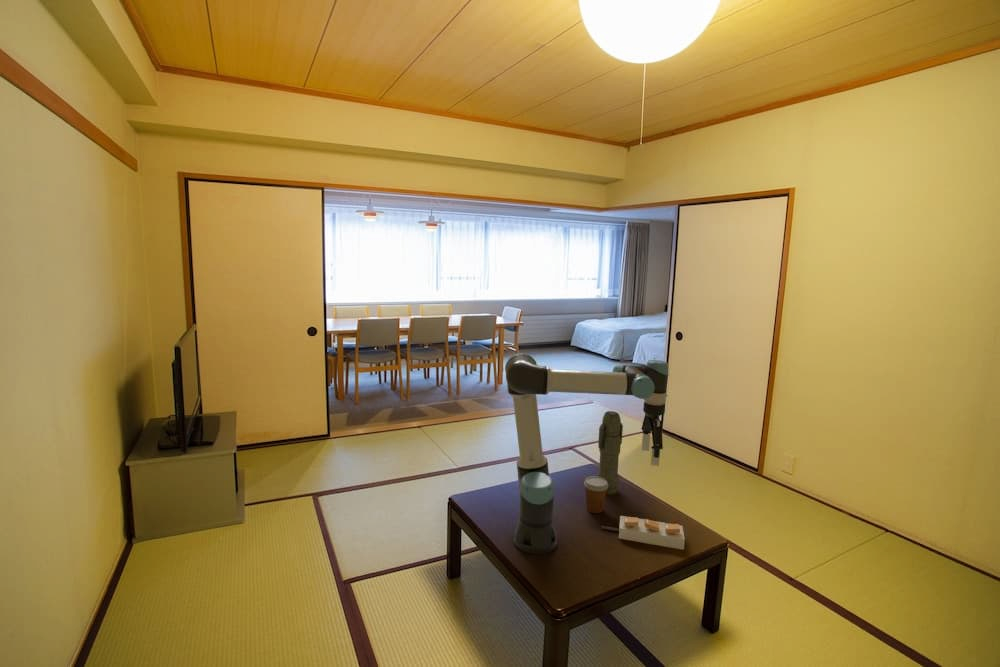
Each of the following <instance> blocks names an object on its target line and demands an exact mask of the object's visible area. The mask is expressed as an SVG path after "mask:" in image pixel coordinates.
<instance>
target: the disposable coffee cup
mask: <svg viewBox="0 0 1000 667" xmlns="http://www.w3.org/2000/svg"><path fill="white" fill-rule="evenodd" d="M583 485H584V487H585V489H584V490H585V499H586V500H585V502H586V510H587V512H590V513H592V514H593V513H594V514H600V513H602V512H603V511H604V505H605V500H606V496H607V494H606V491H607V488H608V483H607V481H606V480H605V479H603V478H601V477H598V476H593V475H591V476H588V477H586V478H585V481H584V482H583Z"/></svg>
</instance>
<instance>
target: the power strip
mask: <svg viewBox="0 0 1000 667" xmlns="http://www.w3.org/2000/svg"><path fill="white" fill-rule="evenodd" d="M630 517H631V516H625V515H620V516H619V525H618V526H619V528H617V527H611V526H605V525H601V529H603V530H608V531H613V532H614V531H615V532H618V539H620V540H621V539H622V540H627V541H632V542H638V543H643V544H647V545H655V546H660V547H665V548H671V549H677V550H678V549H679V550H685V541H686V540H685V539H686V538H685V534H684V527H683V525H680V524H679V529H680V533H666V531H665V524H670V523H667V522H663V521H662V522H661V521H658V520H657V521H655V520H653V521H654V522H656V523H659V530H658V532H657V531H655V530H652V529H649V528H646V527H644V521H645V519H646V518H639V517H638V525H639V526H625V524H624V518H630Z"/></svg>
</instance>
